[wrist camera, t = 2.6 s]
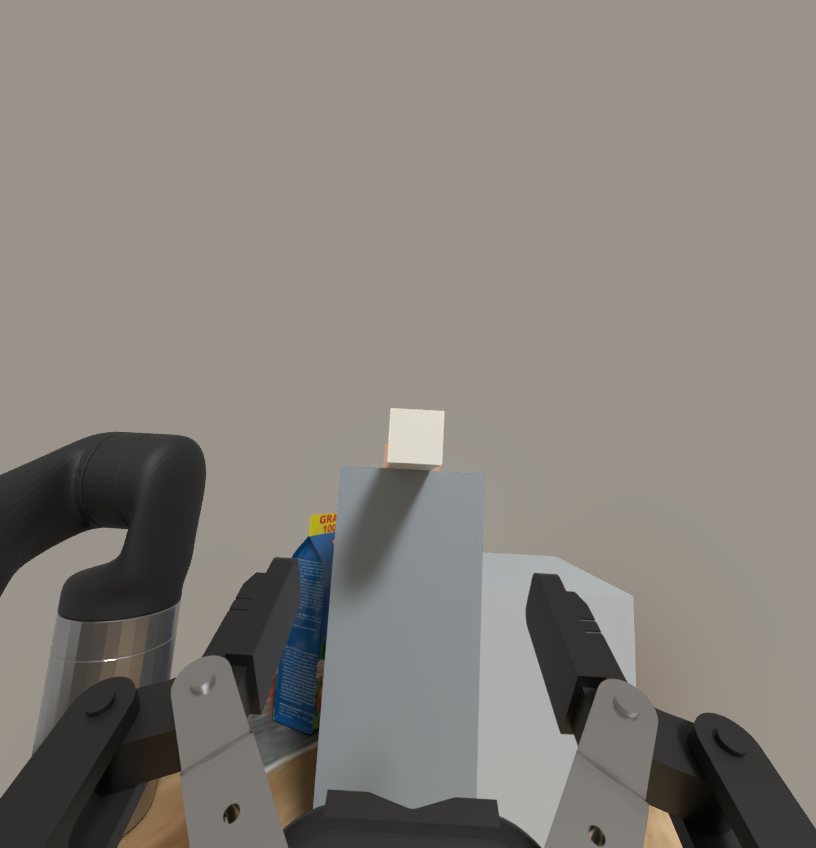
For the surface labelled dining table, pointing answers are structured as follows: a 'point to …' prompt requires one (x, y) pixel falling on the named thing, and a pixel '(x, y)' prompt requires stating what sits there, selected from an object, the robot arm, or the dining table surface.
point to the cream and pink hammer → (415, 440)
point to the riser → (443, 653)
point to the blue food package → (307, 632)
